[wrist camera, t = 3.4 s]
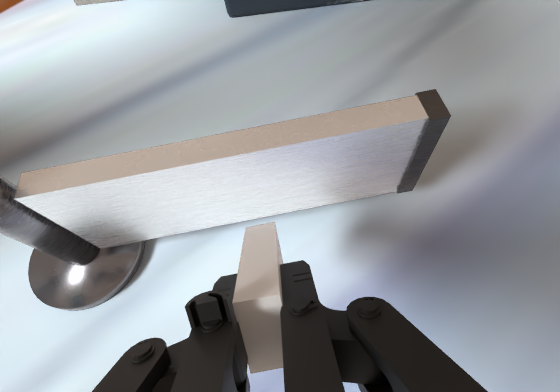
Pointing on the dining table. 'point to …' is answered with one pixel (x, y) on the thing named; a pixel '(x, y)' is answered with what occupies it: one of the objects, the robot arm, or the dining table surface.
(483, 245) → the dining table surface
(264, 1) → the power unit
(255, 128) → the swing panel
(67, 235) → the panel post
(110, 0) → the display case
